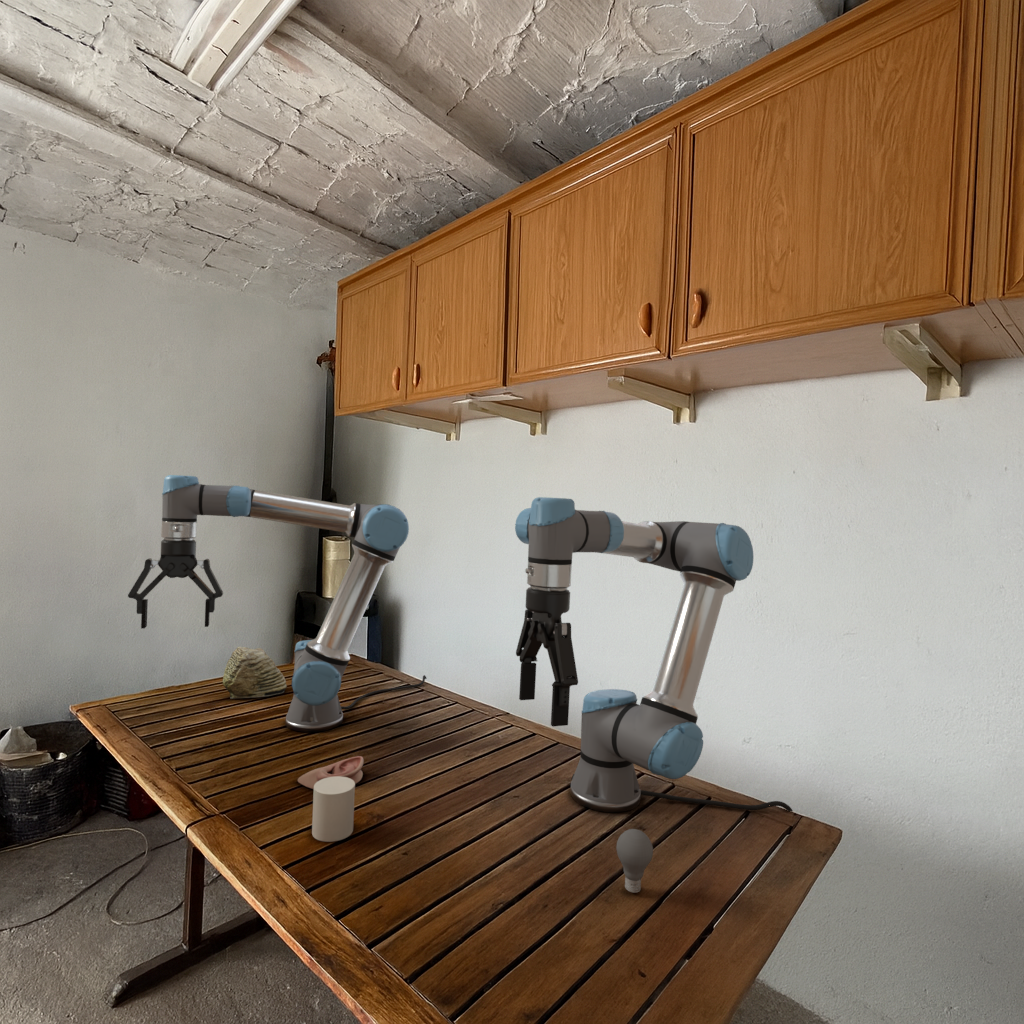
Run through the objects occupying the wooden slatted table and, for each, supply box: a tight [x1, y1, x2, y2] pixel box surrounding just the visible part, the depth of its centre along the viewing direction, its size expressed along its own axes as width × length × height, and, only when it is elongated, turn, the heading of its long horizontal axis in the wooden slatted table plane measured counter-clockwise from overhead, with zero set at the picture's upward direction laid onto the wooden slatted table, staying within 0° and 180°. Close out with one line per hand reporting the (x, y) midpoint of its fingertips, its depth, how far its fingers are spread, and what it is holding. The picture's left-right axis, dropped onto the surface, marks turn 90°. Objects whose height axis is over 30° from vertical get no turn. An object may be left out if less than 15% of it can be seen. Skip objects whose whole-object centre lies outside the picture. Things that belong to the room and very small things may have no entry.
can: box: [311, 776, 356, 843], centre depth 120 cm, size 8×8×9 cm
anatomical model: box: [297, 755, 364, 790], centre depth 142 cm, size 13×4×12 cm
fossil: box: [222, 646, 288, 699], centre depth 198 cm, size 9×18×15 cm, turn 132°
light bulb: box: [615, 828, 654, 894], centre depth 106 cm, size 6×6×10 cm
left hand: (175, 626), depth 153 cm, fingers open, 13 cm apart
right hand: (542, 711), depth 108 cm, fingers open, 13 cm apart
